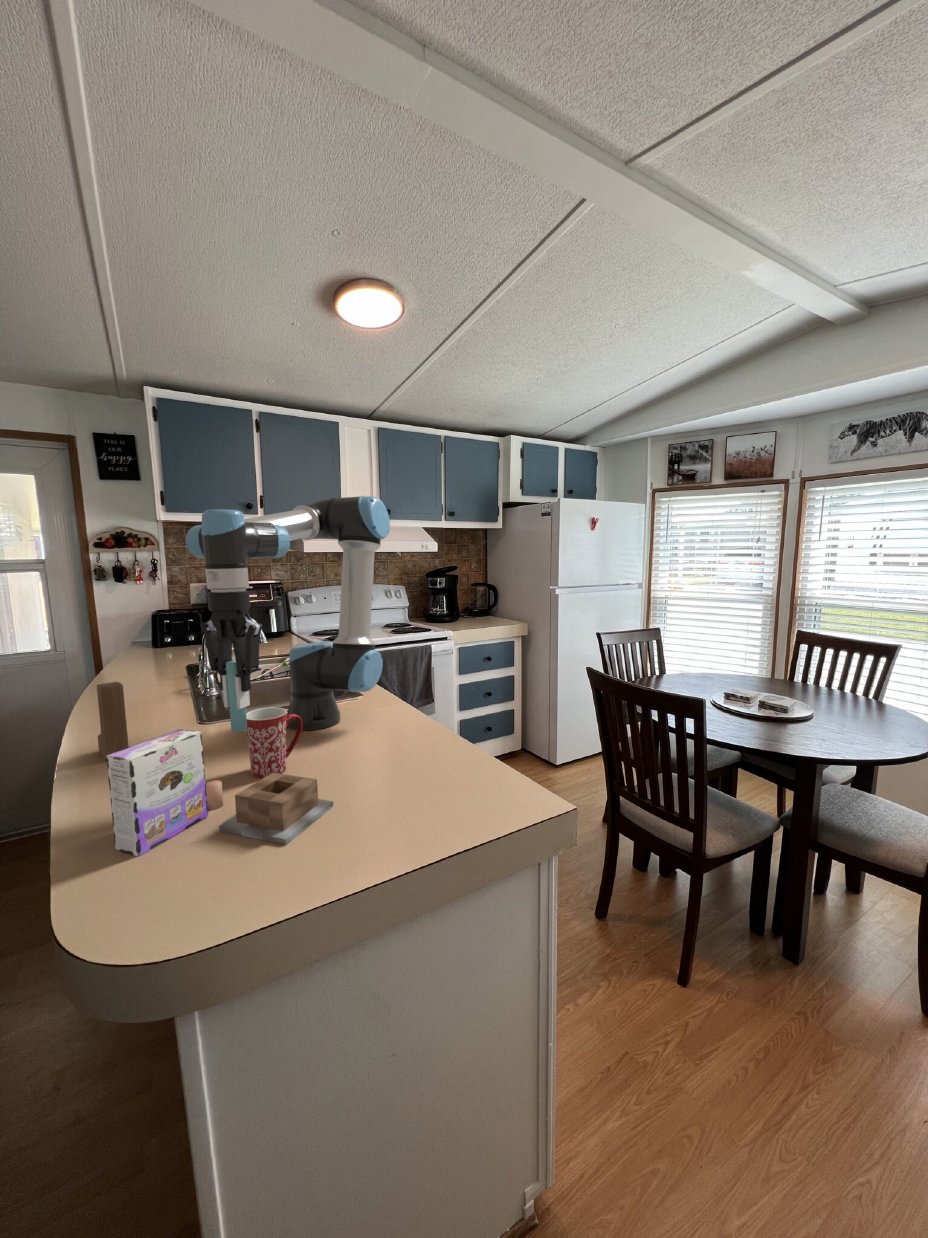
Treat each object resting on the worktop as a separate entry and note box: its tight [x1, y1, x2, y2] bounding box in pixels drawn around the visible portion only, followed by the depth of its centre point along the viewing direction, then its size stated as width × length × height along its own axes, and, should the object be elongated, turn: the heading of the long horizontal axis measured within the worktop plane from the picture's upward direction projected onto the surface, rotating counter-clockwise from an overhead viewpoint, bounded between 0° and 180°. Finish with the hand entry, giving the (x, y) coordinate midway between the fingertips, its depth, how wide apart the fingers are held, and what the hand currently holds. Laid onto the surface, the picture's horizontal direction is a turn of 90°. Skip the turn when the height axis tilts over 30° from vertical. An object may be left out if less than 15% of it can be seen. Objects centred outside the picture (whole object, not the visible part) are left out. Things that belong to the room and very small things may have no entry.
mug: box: [245, 706, 303, 779], centre depth 115 cm, size 13×9×14 cm
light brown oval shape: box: [205, 780, 224, 811], centre depth 98 cm, size 3×3×4 cm
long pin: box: [226, 660, 247, 733], centre depth 103 cm, size 3×3×14 cm
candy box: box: [106, 728, 209, 857], centre depth 88 cm, size 14×6×16 cm, turn 159°
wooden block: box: [96, 681, 129, 761], centre depth 124 cm, size 9×4×18 cm, turn 46°
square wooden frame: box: [218, 773, 334, 846], centre depth 93 cm, size 14×14×6 cm
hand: (237, 705), depth 103 cm, fingers closed on long pin, 2 cm apart
